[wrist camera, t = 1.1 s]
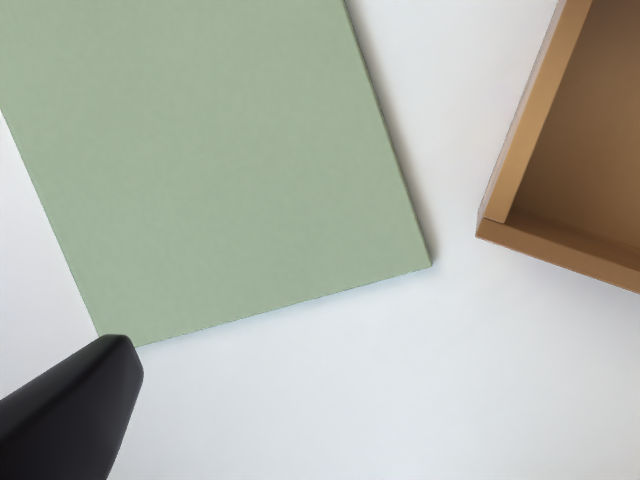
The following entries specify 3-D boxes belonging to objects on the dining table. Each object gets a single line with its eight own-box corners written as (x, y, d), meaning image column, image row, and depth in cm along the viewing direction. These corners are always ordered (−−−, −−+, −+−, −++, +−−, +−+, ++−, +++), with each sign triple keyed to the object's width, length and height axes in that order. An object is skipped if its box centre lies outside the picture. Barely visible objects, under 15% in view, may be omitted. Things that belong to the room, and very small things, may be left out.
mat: (433, 264, 24) (431, 266, 24) (111, 352, 29) (106, 355, 29) (232, -333, 21) (227, -340, 20) (-89, -113, 26) (-97, -116, 26)
